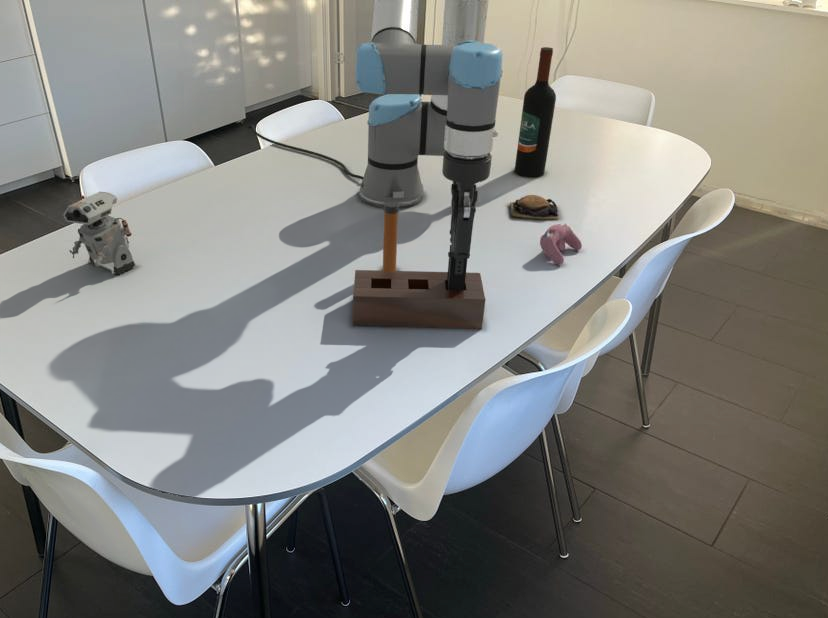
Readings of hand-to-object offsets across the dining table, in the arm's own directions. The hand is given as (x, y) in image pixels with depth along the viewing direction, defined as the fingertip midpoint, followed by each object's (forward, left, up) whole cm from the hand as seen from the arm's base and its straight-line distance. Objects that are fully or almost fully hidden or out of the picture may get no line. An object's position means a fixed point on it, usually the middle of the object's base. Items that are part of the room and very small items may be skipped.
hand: (455, 283), depth 128 cm
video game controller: (+2, +34, -7) cm, 35 cm away
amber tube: (-19, +5, -6) cm, 21 cm away
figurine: (-61, -33, -7) cm, 70 cm away
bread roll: (-13, +49, -7) cm, 51 cm away
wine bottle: (-27, +70, -7) cm, 75 cm away
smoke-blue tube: (0, 0, -3) cm, 3 cm away
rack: (-5, -4, -6) cm, 9 cm away
